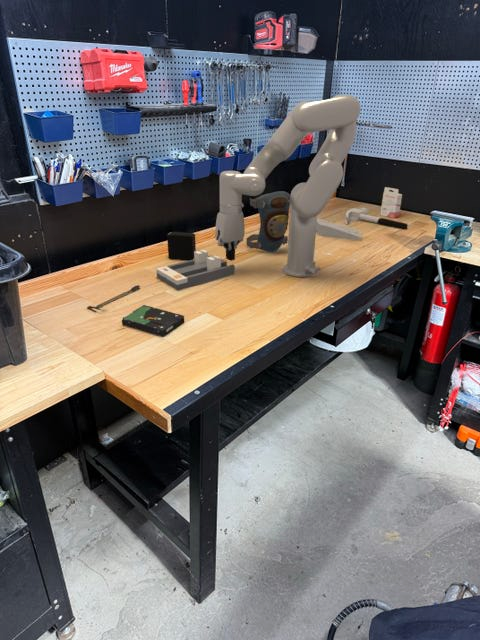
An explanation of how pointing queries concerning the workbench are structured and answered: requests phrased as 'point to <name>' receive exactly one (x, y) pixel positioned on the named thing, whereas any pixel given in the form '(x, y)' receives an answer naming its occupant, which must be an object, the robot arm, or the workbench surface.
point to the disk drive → (153, 320)
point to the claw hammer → (371, 218)
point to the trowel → (336, 230)
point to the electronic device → (181, 246)
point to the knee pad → (271, 221)
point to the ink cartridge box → (391, 203)
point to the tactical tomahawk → (113, 299)
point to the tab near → (213, 262)
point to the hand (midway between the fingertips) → (230, 259)
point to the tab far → (200, 256)
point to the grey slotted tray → (192, 273)
